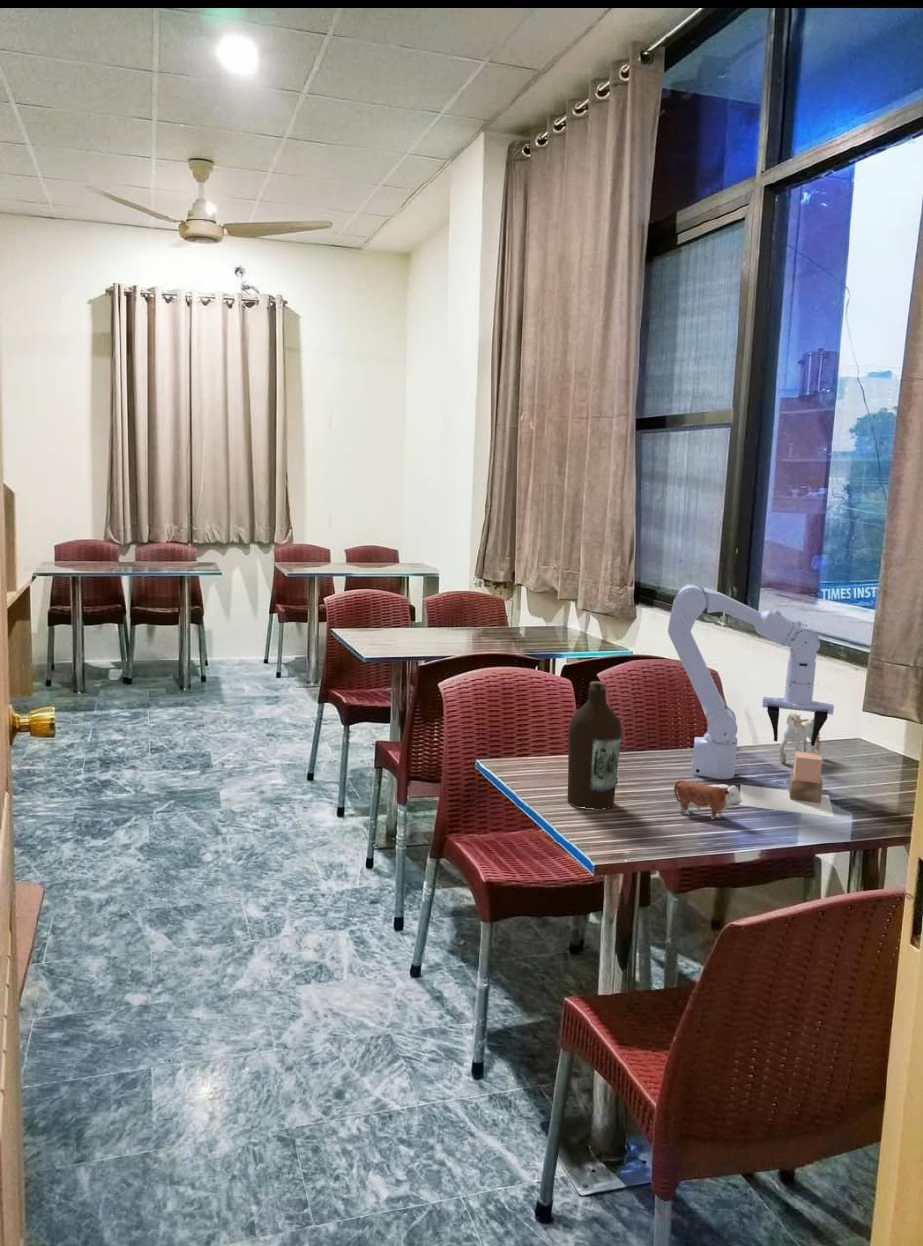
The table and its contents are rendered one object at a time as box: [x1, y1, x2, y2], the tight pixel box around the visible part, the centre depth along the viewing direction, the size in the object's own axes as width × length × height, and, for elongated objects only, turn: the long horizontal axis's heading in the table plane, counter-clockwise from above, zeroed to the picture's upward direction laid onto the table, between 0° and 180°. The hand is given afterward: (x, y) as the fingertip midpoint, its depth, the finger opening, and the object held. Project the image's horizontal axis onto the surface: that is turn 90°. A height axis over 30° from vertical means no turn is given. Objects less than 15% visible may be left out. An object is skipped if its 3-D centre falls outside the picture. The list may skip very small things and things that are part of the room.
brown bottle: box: [567, 680, 623, 809], centre depth 193 cm, size 11×11×25 cm
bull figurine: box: [673, 780, 742, 820], centre depth 187 cm, size 4×13×8 cm, turn 58°
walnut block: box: [788, 772, 824, 803], centre depth 201 cm, size 6×6×4 cm
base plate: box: [738, 784, 835, 818], centre depth 198 cm, size 18×14×1 cm
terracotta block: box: [792, 750, 823, 784], centre depth 200 cm, size 5×5×5 cm
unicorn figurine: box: [778, 711, 822, 764], centre depth 228 cm, size 7×20×13 cm, turn 149°
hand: (794, 742), depth 210 cm, fingers open, 7 cm apart
